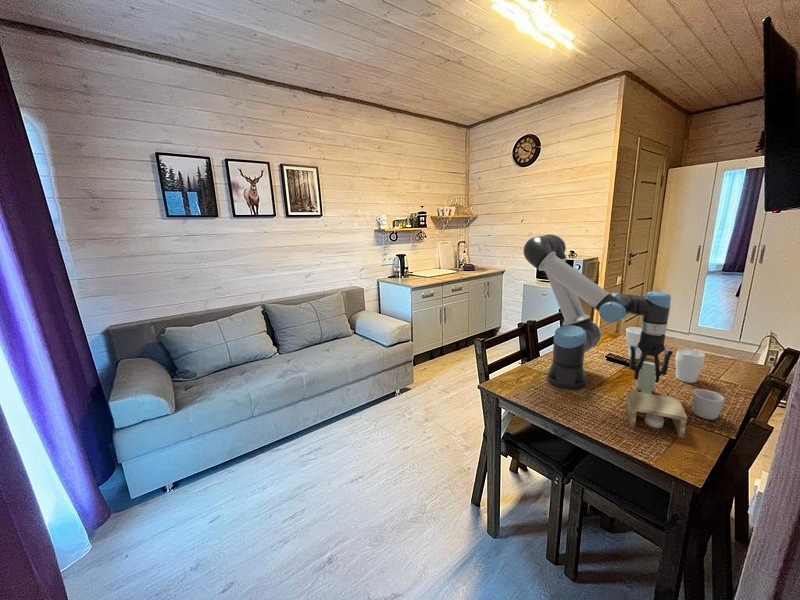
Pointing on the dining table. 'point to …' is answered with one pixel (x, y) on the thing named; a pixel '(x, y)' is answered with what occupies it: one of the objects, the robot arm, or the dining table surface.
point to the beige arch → (657, 408)
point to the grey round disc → (654, 420)
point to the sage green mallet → (647, 377)
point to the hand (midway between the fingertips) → (644, 387)
